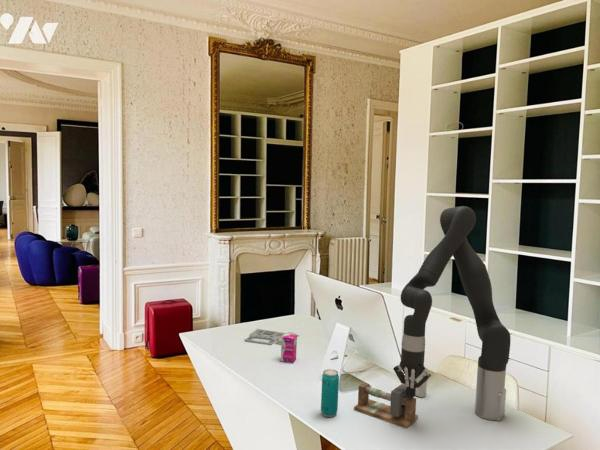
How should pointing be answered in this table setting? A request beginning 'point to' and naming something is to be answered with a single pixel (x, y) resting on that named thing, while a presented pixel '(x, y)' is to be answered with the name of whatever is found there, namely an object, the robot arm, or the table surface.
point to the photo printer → (421, 387)
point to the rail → (384, 406)
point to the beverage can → (329, 393)
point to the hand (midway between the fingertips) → (410, 397)
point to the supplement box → (288, 348)
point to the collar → (397, 400)
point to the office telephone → (267, 336)
